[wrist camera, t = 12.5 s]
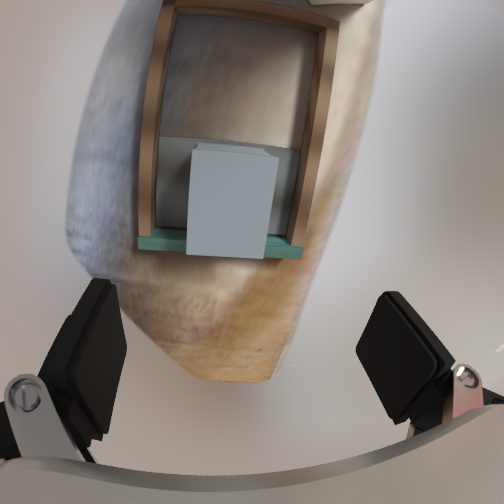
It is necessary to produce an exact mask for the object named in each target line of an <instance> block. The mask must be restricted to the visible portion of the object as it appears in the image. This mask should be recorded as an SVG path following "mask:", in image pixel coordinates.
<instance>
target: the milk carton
mask: <svg viewBox="0 0 504 504" xmlns="http://www.w3.org/2000/svg"><path fill="white" fill-rule="evenodd" d="M371 1H373V0H309V2H310V3H311V5H319V4H367V3H369V2H371Z"/></svg>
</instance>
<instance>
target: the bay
mask: <svg viewBox="0 0 504 504" xmlns="http://www.w3.org/2000/svg"><path fill="white" fill-rule="evenodd" d="M178 15H209V16H223V17H233V18H242V19H249V20H256V21H263V22H268V23H274V24H279V25H284V26H288V27H293V28H297V29H301V30H305V31H309V32H313V33H316V34H318V39H317V47H316V54H315V62H314V69H313V76H312V83H311V90H310V96H309V103H308V110H307V116H306V122H305V129H304V135H303V141H302V147H301V151H300V150H294V149H287V148H281V147H274V146H267V145H260V144H252V143H243V142H234V141H224V140H212V139H199V138H181V137H159V132H160V122H161V112H162V104H163V96H164V88H165V81H166V74H167V68H168V62H169V56H170V50H171V45H172V40H173V35H174V30H175V25H176V21H177V16H178ZM339 24H340V22H339V21H336V20H333V19H330V18H327V17H323V16H320V15H317V14H313V13H309V12H306V11H302V10H298V9H294V8H289V7H285V6H280V5H275V4H270V3H264V2H258V1H251V0H163V3H162V7H161V11H160V15H159V20H158V24H157V28H156V33H155V38H154V43H153V48H152V53H151V59H150V64H149V71H148V77H147V84H146V91H145V99H144V108H143V118H142V129H141V142H140V159H139V190H138V218H139V236H138V249H145V250H160V251H176V252H186V247H187V229H181V228H187V221H188V202H189V186H190V172H191V160H192V149H193V148H194V149H196V147H197V146H198V143H212V144H224V145H235V146H245V147H254V148H262V149H264V151H265V152H267V153H268V154H270V155H272V156H276V157H278V158H279V163H278V169H277V176H276V182H275V188H274V195H273V201H272V207H271V214H270V220H269V226H268V232H267V234H274V235H267V238H266V245H265V251H264V257H271V258H288V259H301V257H302V253H303V247H302V245H303V241H304V236H305V231H306V227H307V222H308V218H309V213H310V208H311V203H312V198H313V193H314V188H315V183H316V178H317V173H318V168H319V162H320V157H321V151H322V145H323V140H324V134H325V128H326V122H327V116H328V109H329V103H330V96H331V89H332V82H333V75H334V67H335V60H336V51H337V43H338V34H339ZM158 144H159V149H158ZM157 158H158V165H157ZM299 158H300V159H299ZM156 176H157V185H156ZM295 181H296V182H295ZM293 192H294V193H293ZM291 203H292V204H291ZM155 205H156V226H159V227H155ZM288 219H289V220H288ZM164 227H176V228H164ZM278 235H285V236H278Z"/></svg>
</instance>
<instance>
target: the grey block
mask: <svg viewBox="0 0 504 504" xmlns="http://www.w3.org/2000/svg"><path fill="white" fill-rule="evenodd" d="M278 163H279V158H278V157H276V156H272V155H270V154H268V153H267V152H265V151H264V149H262V148H254V147H245V146H235V145H224V144H212V143H198V146H197V147H196V149H194V148H193V149H192V160H191V172H190V186H189V202H188V221H187V247H186V255H203V256H220V257H238V258H256V259H263V257H264V251H265V245H266V238H267V232H268V226H269V220H270V214H271V207H272V201H273V195H274V188H275V182H276V176H277V169H278Z"/></svg>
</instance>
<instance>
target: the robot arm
mask: <svg viewBox="0 0 504 504" xmlns="http://www.w3.org/2000/svg"><path fill="white" fill-rule="evenodd" d="M126 351H127V344H126V339H125V334H124V329H123V324H122V319H121V313H120V308H119V302H118V295H117V289H116V285H115V284H111V281H110V280H109V279H100V278H93V279H92V280H91V282H90V284H89V285H88V287H87V289H86V290H85V292H84V293H83V295H82V297H81V299H80V300H79V302H78V304H77V305H76V307H75V309H74V311H73V312H72V314H71V315H69V316H68V317H67V318H66V320H65V322H64V324H63V325H62V327H61V329H60V331H59V333H58V335H57V336H56V338H55V340H54V342H53V344H52V346H51V348H50V350H49V352H48V354H47V356H46V359H45V361H44V363H43V365H42V367H41V369H40V371H39V374H38V376H35V375H33V374H22V375H18V376H17V377H15V378H13V379H12V380H11V381H10V382H9V383H8V385H7V387H6V389H5V393H4V401H3V402H1V403H0V504H504V397H503V396H501V395H499V394H496V393H494V392H492V391H490V390H487V389H485V388H483V387H482V382H481V378H480V376H479V374H478V373H477V372H476V370H475V369H473V368H472V367H471V366H468V365H466V364H458V365H457V366H456V367H455V368H454V369H453V371H452V370H451V369H450V368H451V367H452V365H453V364H454V363H455V359H454V358H453V357H452V355H451V354H450V353H449V351H448V350H447V349H446V348H445V346H444V345H443V344H442V342H441V341H440V340H439V339H438V337H437V336H436V335H435V334H434V332H433V331H432V330H431V329H430V328H429V327H428V325H427V324H426V323H425V322H424V320H423V319H422V318H421V317H420V316H419V315H418V313H417V312H416V311H415V310H414V309H413V307H412V306H411V305H410V304H409V303H408V302H407V301H406V299H405V298H404V297H403V296H402V295H401V294H400V293H399V292H397V291H386V292H384V293H383V294H382V295H381V296H380V297H379V298H378V300H377V303H376V305H375V307H374V309H373V312H372V314H371V316H370V319H369V321H368V323H367V325H366V327H365V329H364V331H363V334H362V336H361V338H360V340H359V342H358V344H357V346H356V353H357V356H358V358H359V360H360V362H361V363H362V365H363V367H364V369H365V371H366V373H367V375H368V377H369V379H370V381H371V383H372V385H373V387H374V388H375V391H376V392H377V394H378V396H379V398H380V400H381V402H382V404H383V406H384V408H385V410H386V412H387V414H388V416H389V417H390V418H391V419H392V420H393V422H394V424H395V425H397V424H400V423H403V422H405V421H406V420H407V419H408V418H410V420H411V422H410V425H409V429H408V434H407V438H406V440H404V441H401V442H398V443H396V444H393V445H390V446H387V447H384V448H382V449H379V450H375V451H372V452H369V453H365V454H362V455H359V456H355V457H351V458H348V459H344V460H340V461H336V462H331V463H327V464H322V465H317V466H312V467H306V468H301V469H294V470H288V471H280V472H272V473H263V474H250V475H231V476H230V475H229V476H197V475H178V474H163V473H153V472H145V471H137V470H130V469H124V468H118V467H113V466H107V465H101V464H98V462H97V460H96V459H95V457H94V456H93V454H92V452H91V451H90V449H89V447H90V445H91V440H92V439H95V440H99V441H102V438H103V433H104V434H107V433H108V431H109V427H110V422H111V416H112V411H113V406H114V402H115V397H116V392H117V388H118V384H119V380H120V376H121V372H122V368H123V364H124V360H125V356H126Z"/></svg>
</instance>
